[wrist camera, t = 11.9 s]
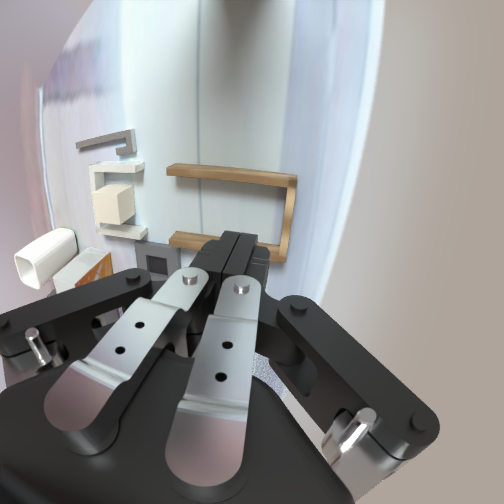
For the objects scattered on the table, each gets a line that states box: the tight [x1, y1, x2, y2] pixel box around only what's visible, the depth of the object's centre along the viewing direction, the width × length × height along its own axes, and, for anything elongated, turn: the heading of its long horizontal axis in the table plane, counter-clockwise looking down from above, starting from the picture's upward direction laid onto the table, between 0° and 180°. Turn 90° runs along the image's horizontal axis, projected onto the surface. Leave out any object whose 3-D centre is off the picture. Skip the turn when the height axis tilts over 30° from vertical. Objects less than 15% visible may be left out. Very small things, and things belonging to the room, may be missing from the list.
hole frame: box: [134, 240, 181, 281], centre depth 54 cm, size 9×9×1 cm
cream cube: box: [92, 184, 135, 225], centre depth 47 cm, size 6×6×6 cm
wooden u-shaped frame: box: [166, 164, 297, 263], centre depth 45 cm, size 13×20×4 cm
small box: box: [53, 247, 113, 294], centre depth 52 cm, size 8×6×13 cm
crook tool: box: [76, 129, 137, 155], centre depth 44 cm, size 4×13×1 cm, turn 94°
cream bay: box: [89, 162, 148, 240], centre depth 48 cm, size 13×10×3 cm
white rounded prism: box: [14, 228, 77, 290], centre depth 50 cm, size 7×7×15 cm
